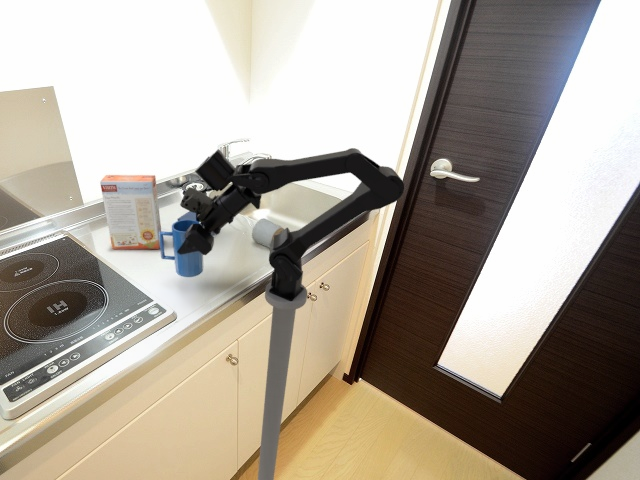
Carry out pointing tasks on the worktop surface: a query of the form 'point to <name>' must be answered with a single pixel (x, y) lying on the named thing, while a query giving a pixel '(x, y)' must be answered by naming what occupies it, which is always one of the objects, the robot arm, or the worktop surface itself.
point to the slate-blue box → (190, 218)
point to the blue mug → (186, 262)
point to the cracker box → (132, 211)
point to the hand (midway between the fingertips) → (182, 245)
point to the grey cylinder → (265, 232)
